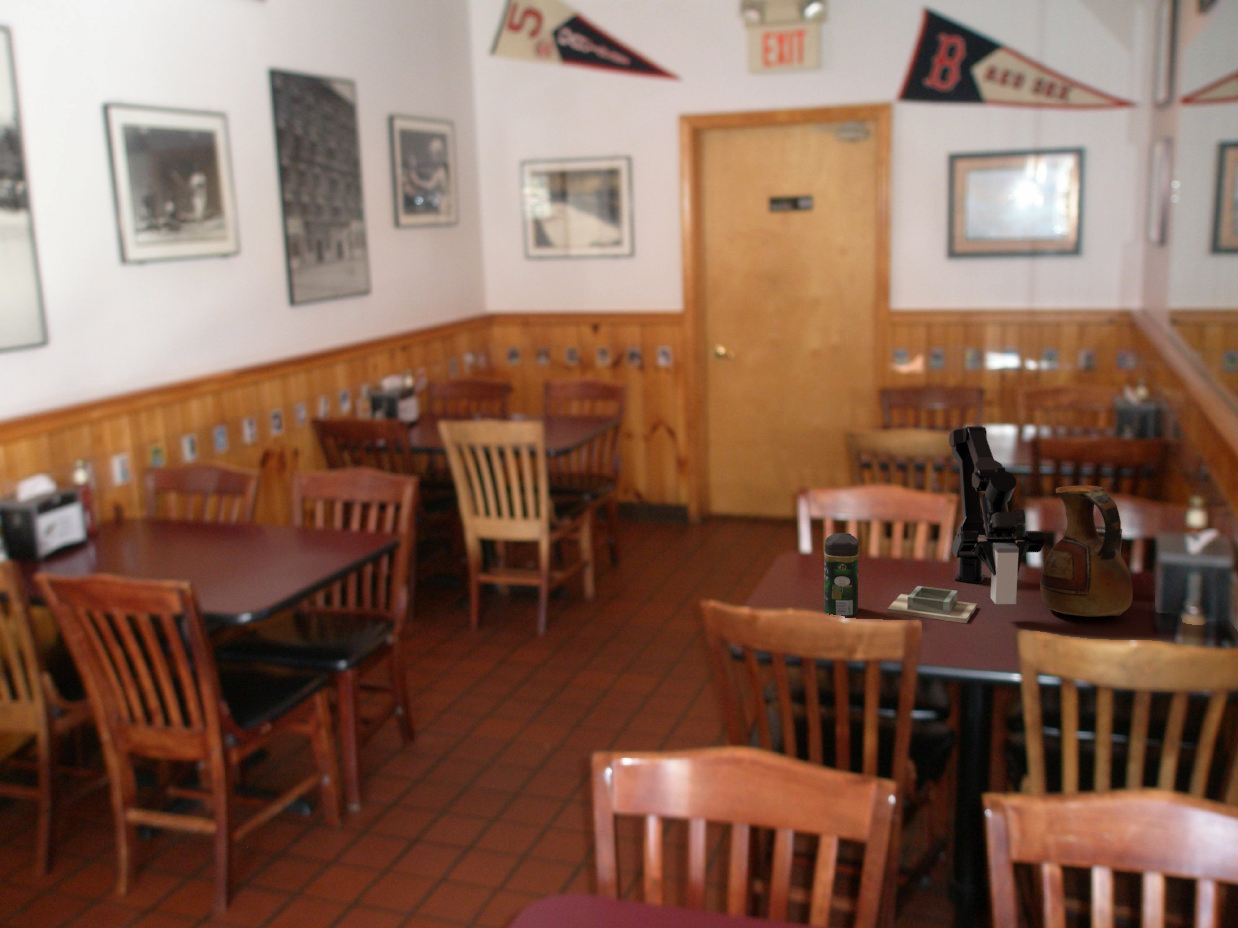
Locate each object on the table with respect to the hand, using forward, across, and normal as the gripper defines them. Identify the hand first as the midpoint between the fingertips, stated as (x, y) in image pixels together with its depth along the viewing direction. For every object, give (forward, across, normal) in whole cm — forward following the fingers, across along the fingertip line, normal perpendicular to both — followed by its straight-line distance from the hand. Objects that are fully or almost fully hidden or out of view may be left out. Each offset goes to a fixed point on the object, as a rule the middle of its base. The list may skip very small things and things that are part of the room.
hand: (1005, 574), depth 256 cm
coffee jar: (+3, -36, +14) cm, 38 cm away
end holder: (+2, -14, +14) cm, 20 cm away
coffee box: (-7, +28, +24) cm, 37 cm away
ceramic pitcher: (+3, +20, +13) cm, 24 cm away
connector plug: (+4, 0, +6) cm, 7 cm away
